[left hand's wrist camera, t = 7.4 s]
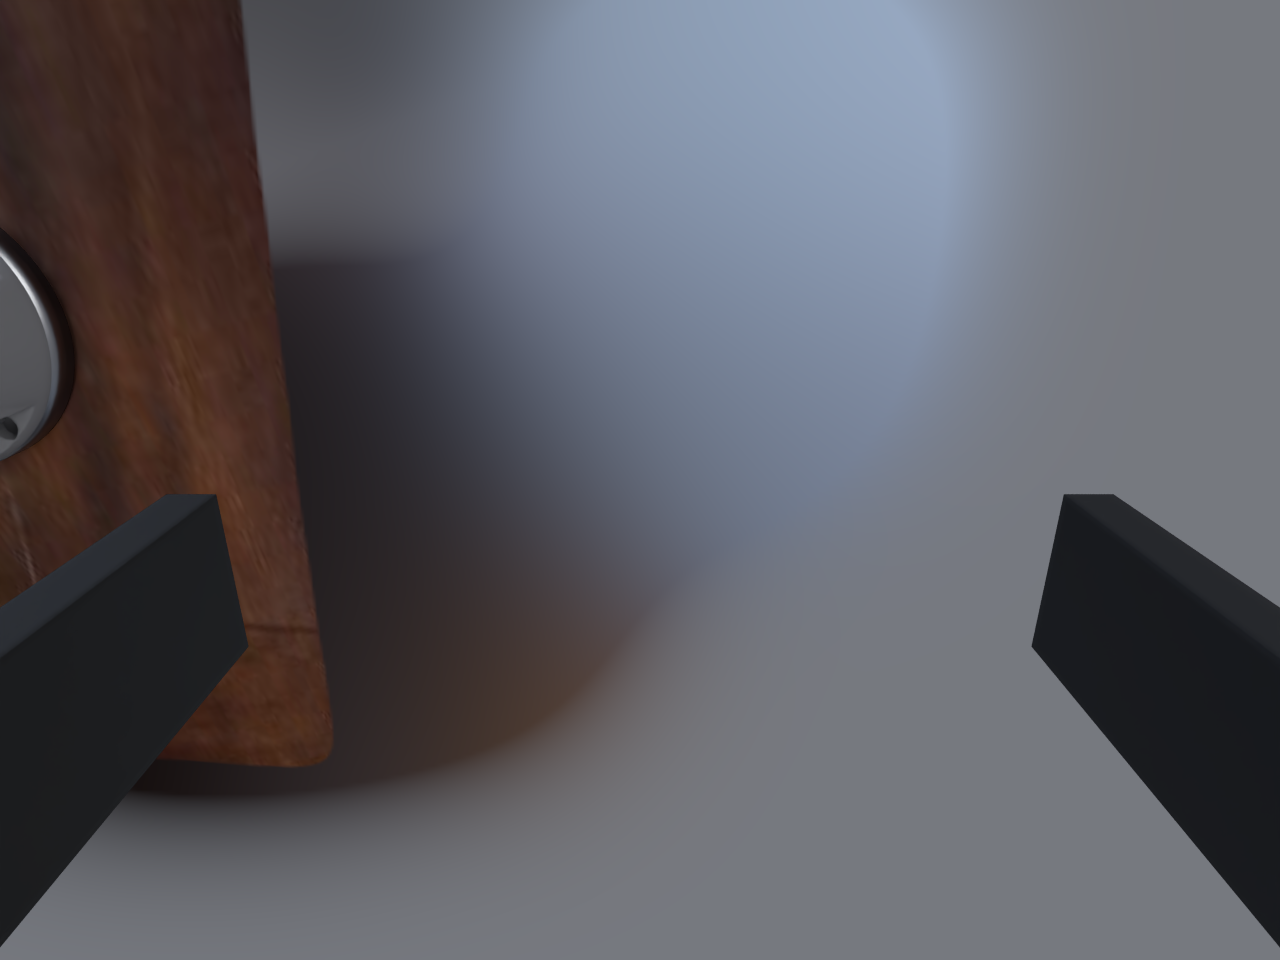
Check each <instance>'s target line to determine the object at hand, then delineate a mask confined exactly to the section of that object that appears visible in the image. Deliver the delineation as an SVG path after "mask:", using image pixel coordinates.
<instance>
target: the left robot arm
mask: <svg viewBox="0 0 1280 960" xmlns="http://www.w3.org/2000/svg"><path fill="white" fill-rule="evenodd" d="M73 379H74V350H73V344H72V338H71V333H70V330H69V326H68V323H67V320H66V317H65V315H64V312H63V309H62V307H61V305H60V303H59V301H58V298H57V296H56V294H55V292H54V291H53V289H52V287H51V286H50V284H49V282H48V280H47V279H46V278H45V276H44V275H43V273H42V272H41V270H40V269H39V267H38V266H37V265H36V264H35V262H34V261H33V260H32V259H31V258H30V256H29V255H28V254H27V253H26V252H25V251H24V250H23V249H22V248H21V246H20V245H19V244H18V243H17V242H16V241H15V240H14V239H12V238H11V237H10V236H9V235H8V234H7V233H6V232H5V231H4V230H2V229H1V228H0V461H1V460H3V459H6V458H8V457H10V456H12V455H14V454H17V453H19V452H21V451H23V450H25V449H27V448H29V447H31V446H32V445H34V444H35V443H37V442H38V441H40V440H41V439H42V438H43V437H44V436H46V435H47V434H48V433H49V431H50V430H51V429H52V428H53V427H54V426H55V424H56V423H57V422H58V420H59V419H60V417H61V416H62V414H63V412H64V410H65V408H66V406H67V403H68V400H69V398H70V394H71V390H72V386H73ZM247 648H248V642H247V637H246V633H245V628H244V623H243V619H242V614H241V609H240V605H239V600H238V595H237V590H236V586H235V581H234V576H233V572H232V567H231V562H230V558H229V553H228V548H227V543H226V539H225V534H224V529H223V525H222V520H221V515H220V511H219V506H218V501H217V496H216V494H166V495H165V496H163V497H162V498H161V499H159V500H158V501H156V502H155V503H153V504H152V505H150V506H149V507H147V508H146V509H144V510H143V511H141V512H140V513H139V514H137V515H136V516H134V517H133V518H131V519H130V520H128V521H127V522H125V523H124V524H122V525H121V526H119V527H118V528H116V529H115V530H114V531H112V532H111V533H109V534H108V535H106V536H105V537H103V538H102V539H100V540H99V541H97V542H96V543H94V544H93V545H92V546H90V547H89V548H87V549H86V550H84V551H83V552H81V553H80V554H78V555H77V556H75V557H74V558H72V559H71V560H69V561H68V562H67V563H65V564H64V565H62V566H61V567H59V568H58V569H56V570H55V571H53V572H52V573H50V574H49V575H47V576H46V577H45V578H43V579H42V580H40V581H39V582H37V583H36V584H34V585H33V586H31V587H30V588H28V589H27V590H25V591H24V592H22V593H21V594H20V595H18V596H17V597H15V598H14V599H12V600H11V601H9V602H8V603H6V604H5V605H3V606H2V607H0V947H1V946H2V944H3V943H4V942H5V941H6V940H7V938H8V937H9V936H10V935H11V934H12V932H13V931H14V930H15V929H16V927H17V926H18V925H19V924H20V923H21V921H22V920H23V919H24V918H25V916H26V915H27V914H28V913H29V912H30V910H31V909H32V908H33V907H34V906H35V904H36V903H37V902H38V901H39V900H40V898H41V897H42V896H43V895H44V893H45V892H46V891H47V890H48V889H49V887H50V886H51V885H52V884H53V883H54V881H55V880H56V879H57V878H58V877H59V875H60V874H61V873H62V872H63V870H64V869H65V868H66V867H67V866H68V864H69V863H70V862H71V861H72V860H73V858H74V857H75V856H76V855H77V854H78V852H79V851H80V850H81V849H82V847H83V846H84V845H85V844H86V843H87V841H88V840H89V839H90V838H91V837H92V835H93V834H94V833H95V832H96V831H97V829H98V828H99V827H100V826H101V824H102V823H103V822H104V821H105V820H106V818H107V817H108V816H109V815H110V814H111V812H112V811H113V810H114V809H115V808H116V806H117V805H118V804H119V803H120V801H121V800H122V799H123V798H124V797H125V795H126V794H127V793H128V792H129V791H130V789H131V788H132V787H133V786H134V784H135V783H136V782H137V781H138V780H139V778H140V777H141V776H142V775H143V774H144V772H145V771H146V770H147V769H148V768H149V766H150V765H151V764H152V763H153V761H154V760H155V759H156V758H157V757H158V755H159V754H160V753H161V752H162V751H163V749H164V748H165V747H166V746H167V744H168V743H169V742H170V741H171V740H172V738H173V737H174V736H175V735H176V734H177V732H178V731H179V730H180V729H181V728H182V726H183V725H184V724H185V723H186V721H187V720H188V719H189V718H190V717H191V715H192V714H193V713H194V712H195V711H196V709H197V708H198V707H199V706H200V705H201V703H202V702H203V701H204V700H205V698H206V697H207V696H208V695H209V694H210V692H211V691H212V690H213V689H214V688H215V686H216V685H217V684H218V683H219V681H220V680H221V679H222V678H223V677H224V675H225V674H226V673H227V672H228V671H229V669H230V668H231V667H232V666H233V665H234V663H235V662H236V661H237V660H238V658H239V657H240V656H241V655H242V654H243V652H244V651H245V650H246V649H247ZM1032 648H1033V649H1034V650H1035V651H1036V652H1037V654H1038V655H1039V656H1040V657H1041V658H1042V660H1043V661H1044V662H1045V663H1046V664H1047V666H1048V667H1049V668H1050V669H1051V671H1052V672H1053V673H1054V674H1055V675H1056V677H1057V678H1058V679H1059V680H1060V681H1061V683H1062V684H1063V685H1064V686H1065V688H1066V689H1067V690H1068V691H1069V692H1070V694H1071V695H1072V696H1073V697H1074V698H1075V700H1076V701H1077V702H1078V703H1079V704H1080V706H1081V707H1082V708H1083V709H1084V711H1085V712H1086V713H1087V714H1088V715H1089V717H1090V718H1091V719H1092V720H1093V721H1094V723H1095V724H1096V725H1097V726H1098V728H1099V729H1100V730H1101V731H1102V732H1103V734H1104V735H1105V736H1106V737H1107V738H1108V740H1109V741H1110V742H1111V743H1112V744H1113V746H1114V747H1115V748H1116V749H1117V751H1118V752H1119V753H1120V754H1121V755H1122V757H1123V758H1124V759H1125V760H1126V761H1127V763H1128V764H1129V765H1130V766H1131V767H1132V769H1133V770H1134V771H1135V772H1136V774H1137V775H1138V776H1139V777H1140V778H1141V780H1142V781H1143V782H1144V783H1145V784H1146V786H1147V787H1148V788H1149V789H1150V791H1151V792H1152V793H1153V794H1154V795H1155V797H1156V798H1157V799H1158V800H1159V801H1160V803H1161V804H1162V805H1163V806H1164V808H1165V809H1166V810H1167V811H1168V812H1169V814H1170V815H1171V816H1172V817H1173V818H1174V820H1175V821H1176V822H1177V823H1178V824H1179V826H1180V827H1181V828H1182V829H1183V831H1184V832H1185V833H1186V834H1187V835H1188V837H1189V838H1190V839H1191V840H1192V841H1193V843H1194V844H1195V845H1196V846H1197V847H1198V849H1199V850H1200V851H1201V852H1202V854H1203V855H1204V856H1205V857H1206V858H1207V860H1208V861H1209V862H1210V863H1211V864H1212V866H1213V867H1214V868H1215V869H1216V871H1217V872H1218V873H1219V874H1220V875H1221V877H1222V878H1223V879H1224V880H1225V881H1226V883H1227V884H1228V885H1229V886H1230V887H1231V889H1232V890H1233V891H1234V892H1235V894H1236V895H1237V896H1238V897H1239V898H1240V900H1241V901H1242V902H1243V903H1244V904H1245V906H1246V907H1247V908H1248V909H1249V910H1250V912H1251V913H1252V914H1253V915H1254V916H1255V918H1256V919H1257V920H1258V921H1259V923H1260V924H1261V925H1262V926H1263V927H1264V929H1265V930H1266V931H1267V932H1268V933H1269V935H1270V936H1271V937H1272V938H1273V940H1274V941H1275V942H1276V943H1277V944H1278V946H1279V947H1280V607H1278V606H1277V605H1275V604H1274V603H1272V602H1271V601H1269V600H1268V599H1266V598H1265V597H1263V596H1262V595H1260V594H1259V593H1257V592H1256V591H1255V590H1253V589H1252V588H1250V587H1249V586H1247V585H1246V584H1244V583H1243V582H1241V581H1240V580H1238V579H1237V578H1235V577H1234V576H1233V575H1231V574H1230V573H1228V572H1227V571H1225V570H1224V569H1222V568H1221V567H1219V566H1218V565H1216V564H1215V563H1213V562H1212V561H1210V560H1209V559H1208V558H1206V557H1205V556H1203V555H1202V554H1200V553H1199V552H1197V551H1196V550H1194V549H1193V548H1191V547H1190V546H1188V545H1187V544H1185V543H1184V542H1183V541H1181V540H1180V539H1178V538H1177V537H1175V536H1174V535H1172V534H1171V533H1169V532H1168V531H1166V530H1165V529H1163V528H1162V527H1161V526H1159V525H1158V524H1156V523H1155V522H1153V521H1152V520H1150V519H1149V518H1147V517H1146V516H1144V515H1143V514H1141V513H1140V512H1139V511H1137V510H1136V509H1134V508H1133V507H1131V506H1130V505H1128V504H1127V503H1125V502H1124V501H1122V500H1121V499H1119V498H1118V497H1116V496H1115V495H1114V494H1064V496H1063V501H1062V506H1061V511H1060V516H1059V520H1058V525H1057V529H1056V534H1055V539H1054V543H1053V548H1052V553H1051V558H1050V562H1049V567H1048V572H1047V576H1046V581H1045V586H1044V590H1043V595H1042V600H1041V605H1040V609H1039V614H1038V619H1037V624H1036V628H1035V633H1034V638H1033V642H1032Z"/></svg>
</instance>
